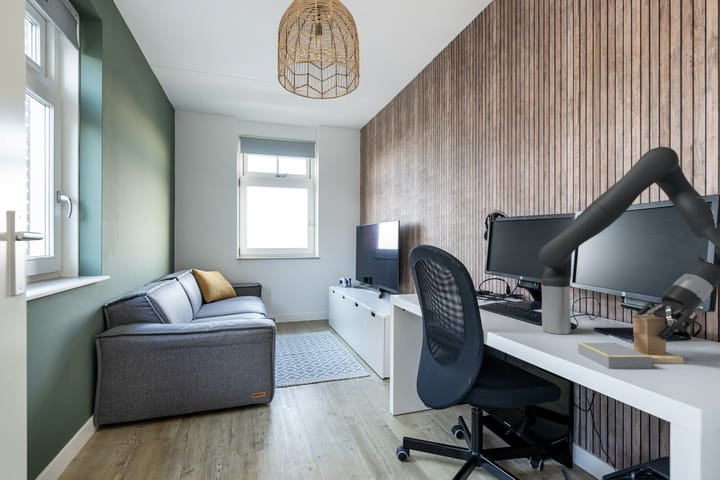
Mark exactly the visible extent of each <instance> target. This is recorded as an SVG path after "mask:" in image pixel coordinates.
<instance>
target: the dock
mask: <svg viewBox="0 0 720 480" xmlns="http://www.w3.org/2000/svg"><path fill="white" fill-rule="evenodd" d="M627 347H628V346H625V345H622V344H619V343H617V342H577V352H578V354H580V355H582V356H583V357H586V358H588V359H589V360H591V361H594V362H595V363H597V364H600V365H601V366H603V367H605V368H607V369H652V364H651V356H648V355H645V354H643V353H640V352H637V351H635V350H632V349H630V348H627Z"/></svg>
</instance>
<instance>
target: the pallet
mask: <svg viewBox="0 0 720 480" xmlns="http://www.w3.org/2000/svg"><path fill="white" fill-rule="evenodd" d="M626 347H627V348H630V349H632V350H634V346H629V347H628V346H626ZM635 351H637V350H635ZM637 352H639V351H637ZM640 353H642V352H640ZM643 354H644V353H643ZM645 355H647V354H645ZM648 356H651V365H652V364H653V365H654V364H657V365H663V364H664V365H665V364H669V365H672V364H673V365H677V364H680V365H681V364H683V365H684V363H685V360H684V359H685V358H684V357H681V356H679V355H676V354H673V353H671V352H669V351H666V355H648Z"/></svg>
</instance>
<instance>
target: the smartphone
mask: <svg viewBox="0 0 720 480" xmlns="http://www.w3.org/2000/svg"><path fill="white" fill-rule="evenodd" d="M611 334H612V333H609V334H608V337H609V338H611V339H614V340H617V341H619V342H622V343H625V344H628V345H630V346H632V347H634V342H631V341H627V340H623V339H620V338H618V337H615V336H613V335H611Z"/></svg>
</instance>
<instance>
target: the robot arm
mask: <svg viewBox="0 0 720 480" xmlns="http://www.w3.org/2000/svg"><path fill="white" fill-rule="evenodd" d="M653 184H656V186H658V187H659V188H660V189H661V191H663V192H664V194H665V195H666V197H668V199H669V201H670V202H671V203H672V205H673V207H674V208H675V209H676V211H677V213H678V214H679V216H680V218H681V219H682V220H683V222H684V223H685V225H686V226H687V227H688V229H689V230H691V232H692V234H694V236H695V237H698V238H701V239H702V238H704V239H705V238H706V240H708V241H710V243H711V244H714V245H715V246H716V249H715V251H716V252H715V253H716V254H717V258H718V266H717V265H715V264H712V263H709V262H705V261H704V259H702V257H700V256H698V257H697V259H696V260H695V262H694V264H693V265H692V266H691V267H690V268H689V269H688V270H687V271H686V272H685V273H684V274H682V275H681V277H679V278H677V280H676V281H675V282H674V283H673V284H671V286H669V288H667V290H666V291H665V292H664V293H663V294H662V295H661V302H659V303H657V304H656V303H654V302H653V301H650V300H649V302H647V303H646V304H645V305H644V306H643V307H642V308H641V309H640V310H638V312H637V313H636V315H653V316H657V317H661V318H665V319H666V321H665V322H666V323H667V324H665V326H664V327H663V328H662V329H661V330H660V331H659V332H658V333H657V336H658V337H659V338H660V339H662V340H666V341H667V340H668V338H669V337H671V335H672V334H674V332H678V331H681V332H685V331H687V330H688V329H689V328H690V327H691V326H692V324H693V323H694V322H695V320H697V319H698V317H699V316H698V314H697V313H696V312H695V310H697V308H698V307H699V306H700V305H701V304H702V303H703V302H704V301H705V300H706V299H707V298H708V297H709V296H710V294H711V293H712V292H713V290H714V289H716V287H717V286H718V285H719V284H720V223H719V224H717V228H715V223H714V219H713V214H712V211H711V209H710V206H711V205H710V204H709V205H710V206H709V205H708V203H709V202H708V201H707V202H708V203H707V202H705V200H706V199H705V198H704V199H705V200H704V199H702V198H696V197H703V196H702V195H701V194H700V193H699V192H698V191H697V190H696V189H695V187H693V185H692V184H691V183H690V181H689V180H688V179H687V177H686V176H685V173H684V172H683V170H682V168H681V165H680V158H679V156H678V153H677V152H676V151H675V150H674V149H672V148H671V147H668V146H659V147H654V148H651V149H650V150H648V151H646V152H645V153H643V155H642V156H641V157H640V158H639V159H638V160H637V161H636V162H635V164H634V165H632V167H631V168H630V169H629V170H628V171H627V172H626V173H625V174H624V176H622V177H621V178H620V179H619V180H618V181H617V182H616V183H614V184H613V185H612V186H610V187H609V188H608V189H606V191H604V192H603V193H601V195H599V196H598V197H597V198H596V199H594V201H592V203H591V204H589V205H588V206H587V207H585V209H584V210H583V211H581V213H580V214H579V215H578V216H577V217H576V218H574V220H572V222H571V223H570V224H569V225H568V226H567V227H566V228H565V229H564V230H563V231H562V232H560V233H559V234H558V235H557V236H555V237H554V238H552V239H551V240H550V241H548V242H547V243H546V244H544V245H543V246H542V247H541V248H540V249H539V252H538V260H539V262H540V264H542V266H543V274H542V277H541V328H542V331H543V332H545V333H549V334H553V335H554V334H555V335H568V334H571V332H572V331H571V330H572V328H571V327H572V322H571V321H572V320H571V314H572V313H571V280H572V279H571V278H572V254H573V253H574V252H575V251H576V250H577V249H578V248H579V247H580V246H581V245H582V244H584V243H586V242H587V241H589V240H590V239H592V238H594V237H595V236H597V235H598V234H600V233H602V232H604V230H606V229H607V228H609V227H610V226H611V225H612V224H614V223H615V222H616V221H617V220H618V219H619V218H621V217H622V216H623V215H624V214H625V212H627V211H628V209H629V208H630V207H632V205H633V203H634V202H635V201H636V200H637V198H638V197H639V196H641V194H643V192H644V191H646V190H647V189H648V188H650V187H651V186H652V185H653Z"/></svg>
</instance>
